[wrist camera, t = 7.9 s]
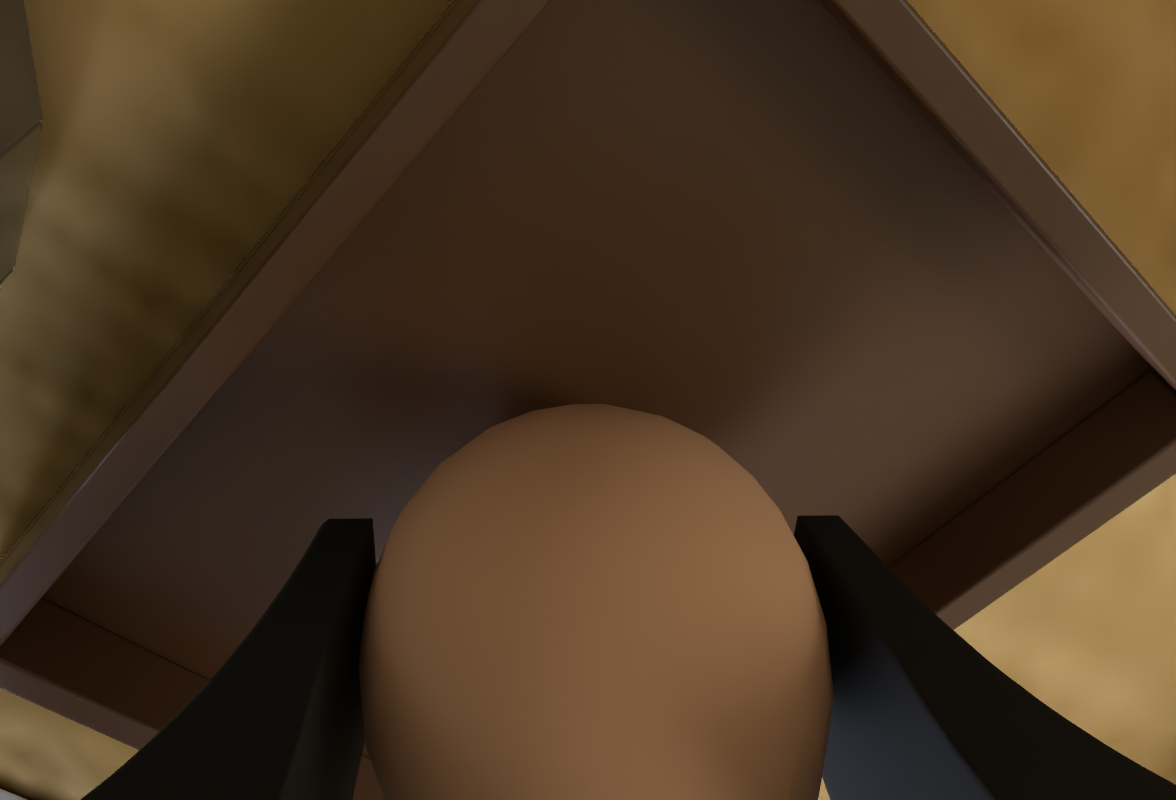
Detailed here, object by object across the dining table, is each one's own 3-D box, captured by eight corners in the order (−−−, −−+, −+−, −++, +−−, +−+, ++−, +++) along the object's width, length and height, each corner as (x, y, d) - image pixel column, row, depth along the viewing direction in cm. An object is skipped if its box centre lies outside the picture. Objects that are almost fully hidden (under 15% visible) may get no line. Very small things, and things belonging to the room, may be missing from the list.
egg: (337, 358, 15) (210, 839, 8) (738, 277, 15) (935, 706, 8) (442, 641, 18) (410, 1151, 12) (773, 579, 18) (934, 1062, 11)
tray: (530, 834, 22) (533, 927, 21) (-8, 569, 17) (-65, 661, 16) (1181, 345, 17) (1261, 415, 15) (660, -257, 12) (689, -257, 10)
